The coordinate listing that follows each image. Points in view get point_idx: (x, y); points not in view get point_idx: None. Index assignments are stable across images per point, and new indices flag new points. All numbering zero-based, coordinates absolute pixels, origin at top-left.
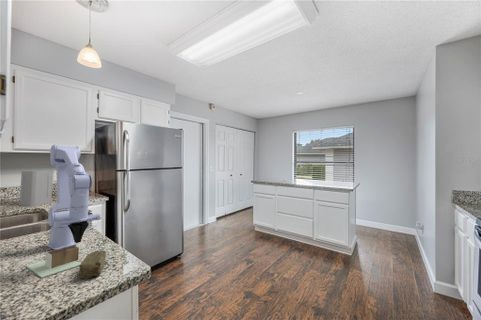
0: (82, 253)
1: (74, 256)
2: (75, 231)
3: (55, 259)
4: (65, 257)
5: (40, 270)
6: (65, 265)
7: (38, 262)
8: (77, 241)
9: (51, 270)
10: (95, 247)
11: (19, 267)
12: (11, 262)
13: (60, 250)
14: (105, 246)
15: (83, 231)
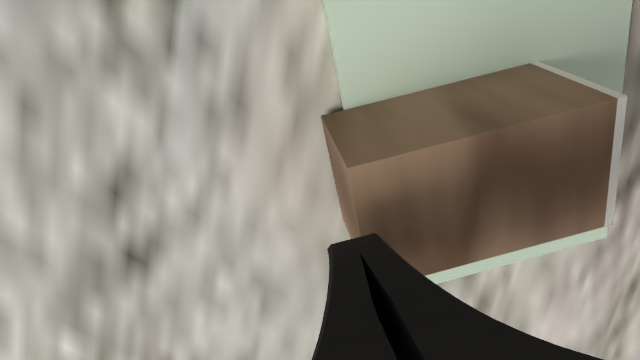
0: (256, 272)
1: (366, 122)
2: (506, 325)
3: (543, 90)
4: (454, 106)
5: (592, 71)
6: (435, 47)
7: (543, 248)
8: (376, 241)
9: (546, 4)
10: (140, 351)
11: (624, 245)
12: (616, 347)
13: (512, 193)
14: (49, 333)
15: (338, 345)
